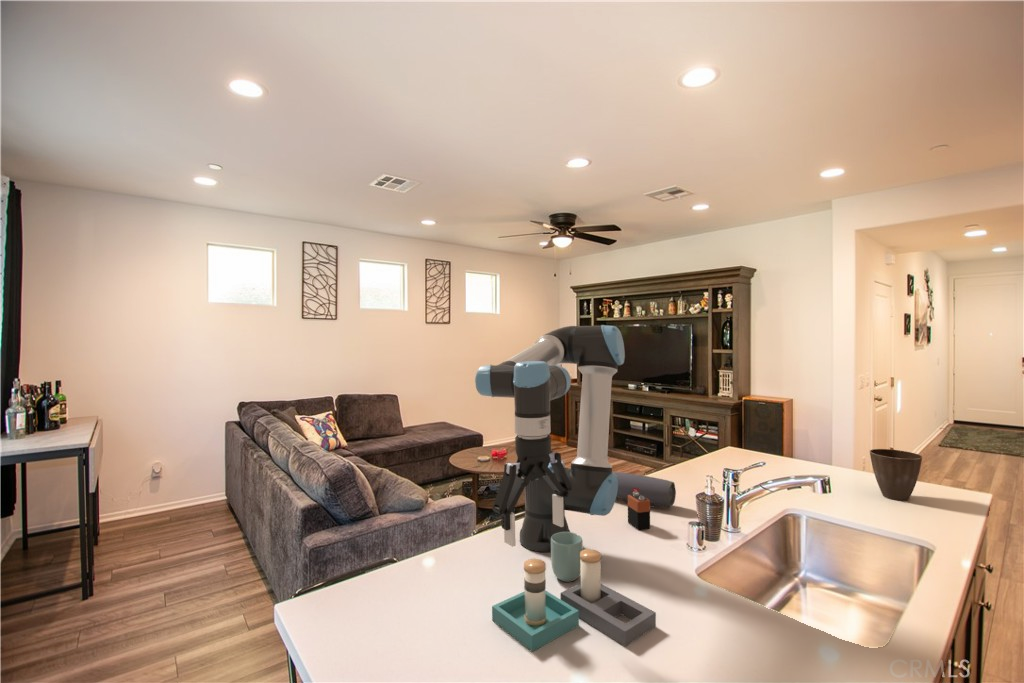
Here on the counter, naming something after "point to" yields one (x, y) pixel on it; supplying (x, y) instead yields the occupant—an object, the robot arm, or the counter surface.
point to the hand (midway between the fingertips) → (535, 534)
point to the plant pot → (896, 472)
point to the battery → (638, 511)
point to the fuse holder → (612, 614)
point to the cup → (566, 555)
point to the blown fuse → (535, 592)
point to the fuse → (590, 575)
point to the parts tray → (513, 622)
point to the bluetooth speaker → (646, 488)
